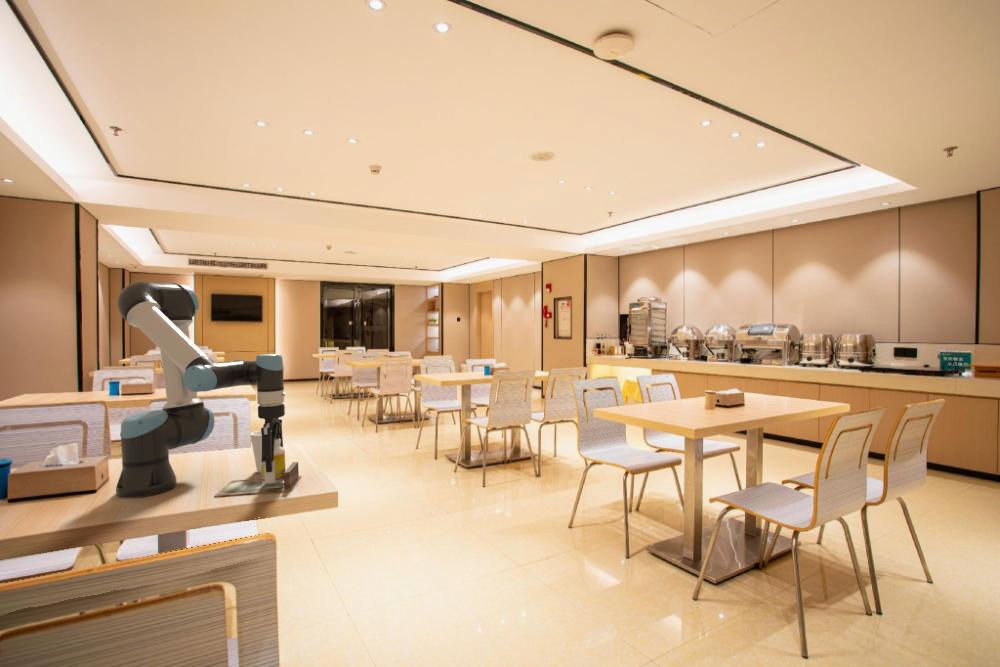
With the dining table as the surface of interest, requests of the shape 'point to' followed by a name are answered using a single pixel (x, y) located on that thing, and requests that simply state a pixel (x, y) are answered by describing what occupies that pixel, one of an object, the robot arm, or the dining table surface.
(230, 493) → the keyhole board
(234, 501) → the dining table surface
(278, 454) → the supplement bottle
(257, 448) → the foam cup
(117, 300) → the robot arm
